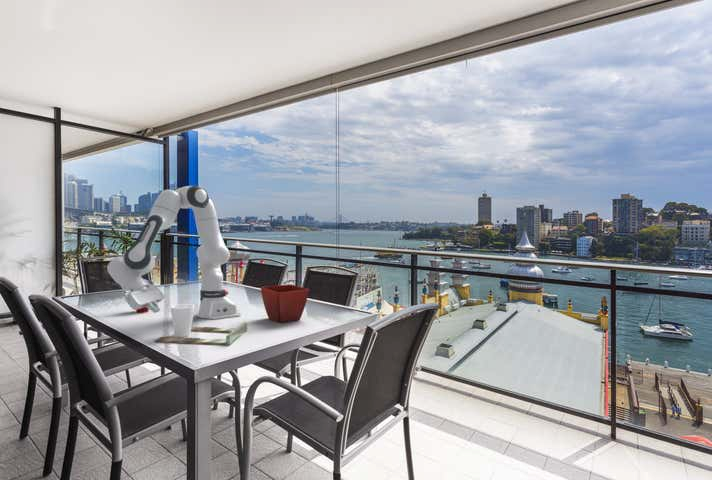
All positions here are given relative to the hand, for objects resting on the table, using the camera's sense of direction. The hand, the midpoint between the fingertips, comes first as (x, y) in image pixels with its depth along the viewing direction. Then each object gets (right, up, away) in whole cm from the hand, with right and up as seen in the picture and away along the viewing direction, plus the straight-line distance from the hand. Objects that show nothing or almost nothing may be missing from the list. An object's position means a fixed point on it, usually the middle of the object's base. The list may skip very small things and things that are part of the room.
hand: (157, 311), depth 166 cm
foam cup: (+11, -11, 0) cm, 15 cm away
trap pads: (+19, -10, 0) cm, 21 cm away
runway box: (+20, -11, 0) cm, 23 cm away
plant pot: (+49, -11, +35) cm, 61 cm away
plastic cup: (-30, -8, +41) cm, 52 cm away
